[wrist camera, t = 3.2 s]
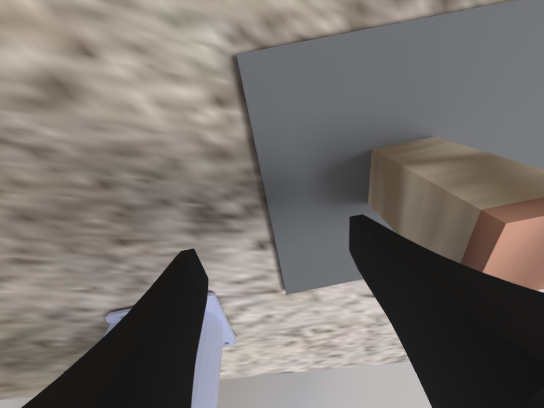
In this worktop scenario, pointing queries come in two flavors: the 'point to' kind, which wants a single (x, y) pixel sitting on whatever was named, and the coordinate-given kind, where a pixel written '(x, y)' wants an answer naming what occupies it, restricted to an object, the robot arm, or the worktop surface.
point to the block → (463, 206)
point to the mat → (384, 117)
